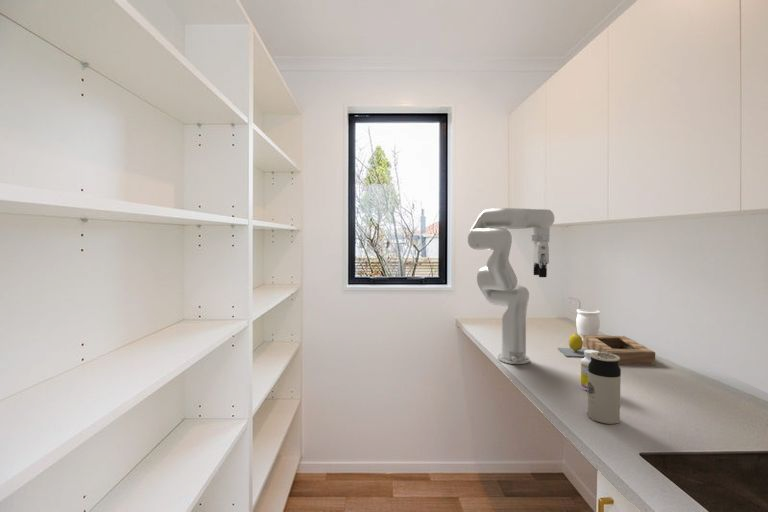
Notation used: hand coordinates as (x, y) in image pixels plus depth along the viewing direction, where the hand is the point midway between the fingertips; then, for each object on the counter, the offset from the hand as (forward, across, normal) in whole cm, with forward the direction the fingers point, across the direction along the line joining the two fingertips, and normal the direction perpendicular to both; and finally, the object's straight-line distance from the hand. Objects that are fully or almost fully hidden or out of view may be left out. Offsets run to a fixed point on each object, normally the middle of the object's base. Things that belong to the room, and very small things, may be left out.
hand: (539, 276), depth 179 cm
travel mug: (+34, -71, 0) cm, 79 cm away
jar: (+34, +16, -27) cm, 46 cm away
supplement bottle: (+34, -49, -5) cm, 60 cm away
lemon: (+33, -7, -14) cm, 36 cm away
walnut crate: (+33, -7, -30) cm, 46 cm away
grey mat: (+33, -7, -14) cm, 37 cm away
